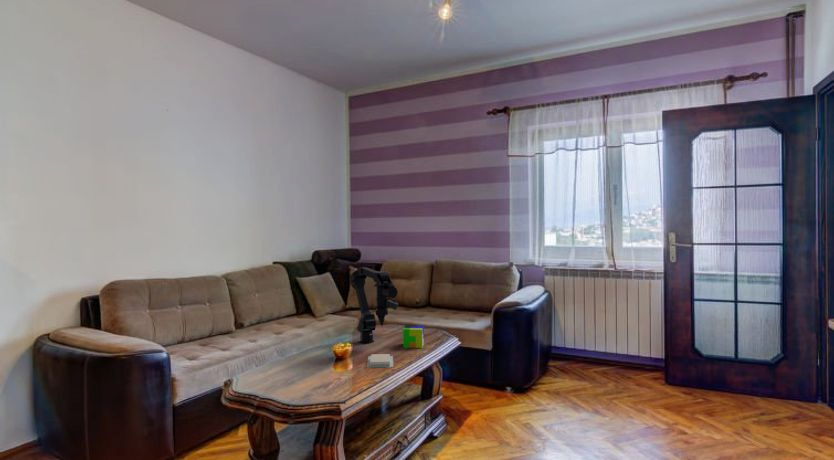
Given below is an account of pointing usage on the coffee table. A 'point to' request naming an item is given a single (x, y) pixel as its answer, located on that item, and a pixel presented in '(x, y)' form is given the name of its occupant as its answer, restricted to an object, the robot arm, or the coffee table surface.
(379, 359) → the tile
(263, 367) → the coffee table surface
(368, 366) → the mat
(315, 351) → the coffee table surface
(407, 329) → the puzzle toy
